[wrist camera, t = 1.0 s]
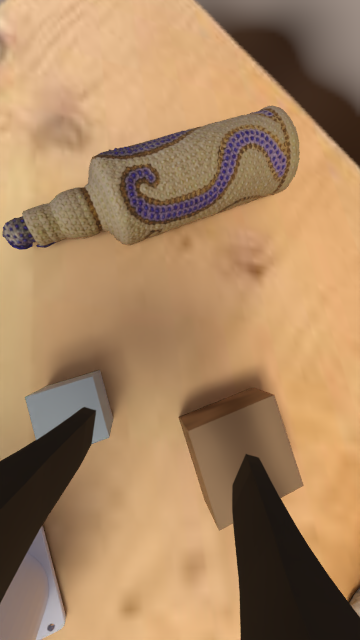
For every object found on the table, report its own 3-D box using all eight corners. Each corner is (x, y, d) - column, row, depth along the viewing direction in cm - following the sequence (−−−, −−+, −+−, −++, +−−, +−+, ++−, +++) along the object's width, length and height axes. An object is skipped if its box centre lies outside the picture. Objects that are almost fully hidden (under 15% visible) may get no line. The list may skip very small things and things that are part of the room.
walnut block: (203, 498, 23) (219, 530, 19) (178, 416, 23) (188, 431, 19) (275, 463, 24) (303, 485, 21) (251, 386, 25) (274, 395, 21)
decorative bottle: (244, 143, 27) (281, 81, 21) (271, 205, 27) (316, 162, 21) (3, 209, 22) (-52, 152, 15) (37, 287, 22) (-3, 264, 15)
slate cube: (60, 437, 21) (41, 462, 16) (47, 385, 21) (25, 396, 16) (113, 418, 22) (109, 437, 17) (100, 369, 22) (92, 376, 17)
